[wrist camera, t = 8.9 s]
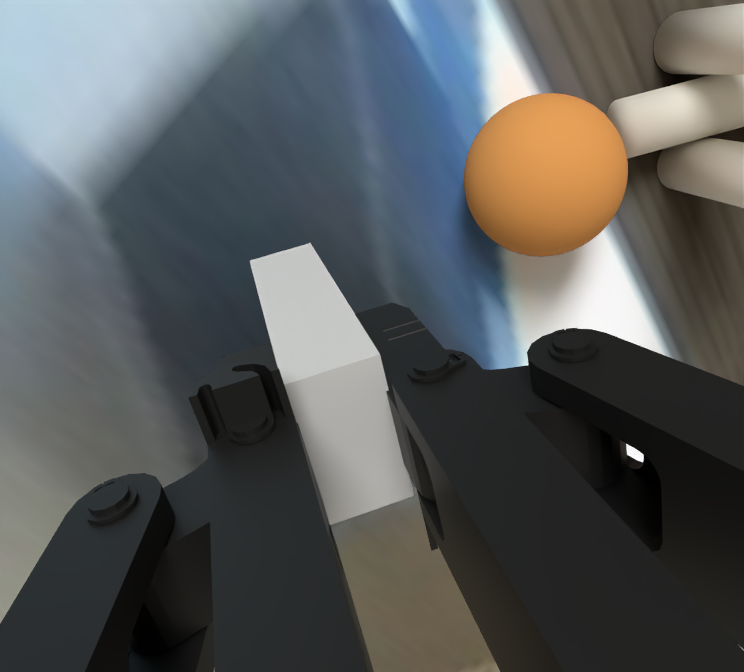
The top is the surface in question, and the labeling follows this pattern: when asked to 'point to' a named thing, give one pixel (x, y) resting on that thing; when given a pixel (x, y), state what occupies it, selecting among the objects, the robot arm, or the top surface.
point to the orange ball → (545, 174)
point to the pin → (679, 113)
